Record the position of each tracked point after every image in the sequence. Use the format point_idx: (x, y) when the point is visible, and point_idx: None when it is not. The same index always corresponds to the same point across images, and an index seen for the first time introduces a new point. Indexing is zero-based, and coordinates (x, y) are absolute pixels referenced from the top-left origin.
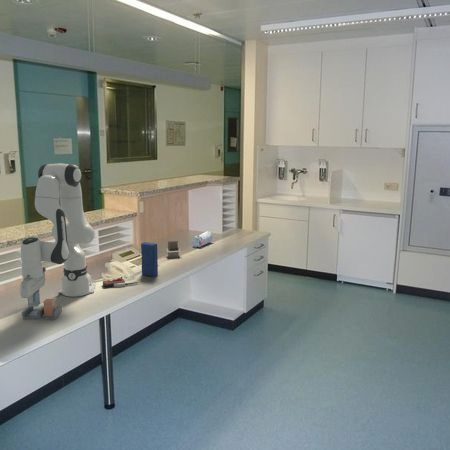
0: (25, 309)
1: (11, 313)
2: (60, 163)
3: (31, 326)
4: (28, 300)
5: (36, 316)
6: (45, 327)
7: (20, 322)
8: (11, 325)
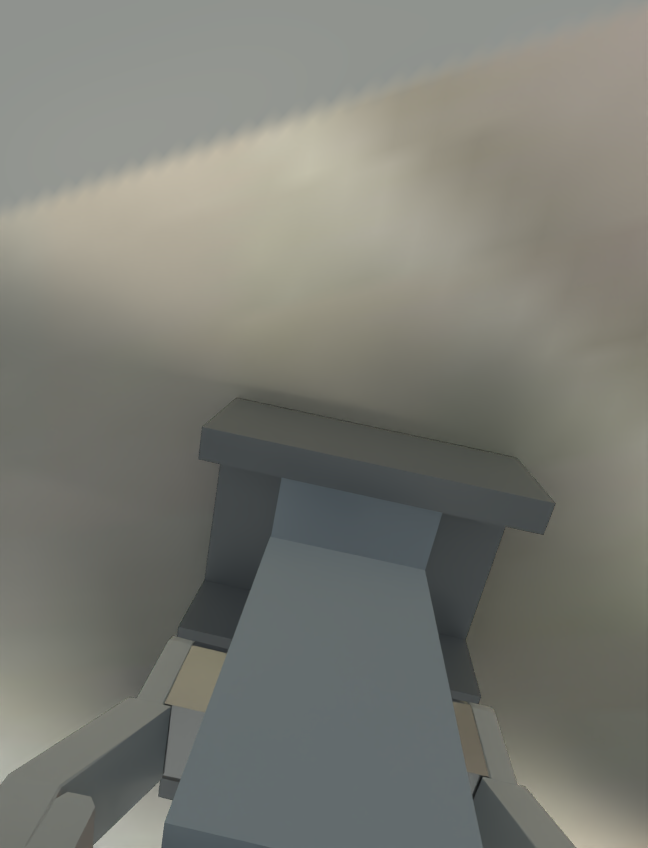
0: (324, 454)
1: (505, 174)
2: None
3: (28, 527)
4: (236, 634)
5: (237, 565)
6: (8, 651)
7: (141, 389)
8: (52, 296)
